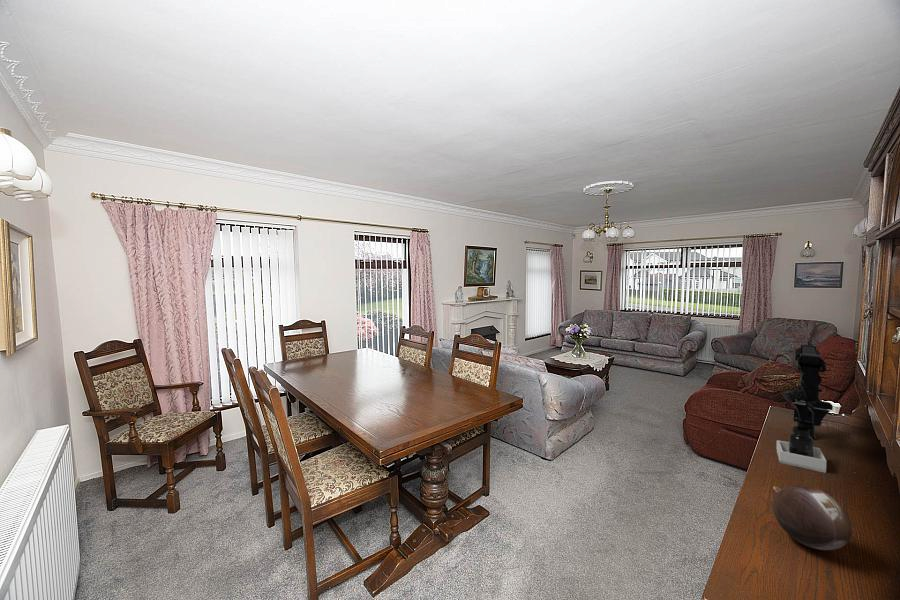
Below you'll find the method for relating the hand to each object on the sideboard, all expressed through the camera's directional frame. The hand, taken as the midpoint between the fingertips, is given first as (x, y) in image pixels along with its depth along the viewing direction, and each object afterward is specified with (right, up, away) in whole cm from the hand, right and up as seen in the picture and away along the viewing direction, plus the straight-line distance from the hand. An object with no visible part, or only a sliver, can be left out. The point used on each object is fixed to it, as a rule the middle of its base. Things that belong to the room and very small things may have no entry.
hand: (808, 423), depth 149 cm
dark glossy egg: (-51, -15, -51) cm, 74 cm away
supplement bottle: (-11, -11, -7) cm, 17 cm away
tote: (-11, -12, -7) cm, 18 cm away
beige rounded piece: (-41, -14, -34) cm, 55 cm away
